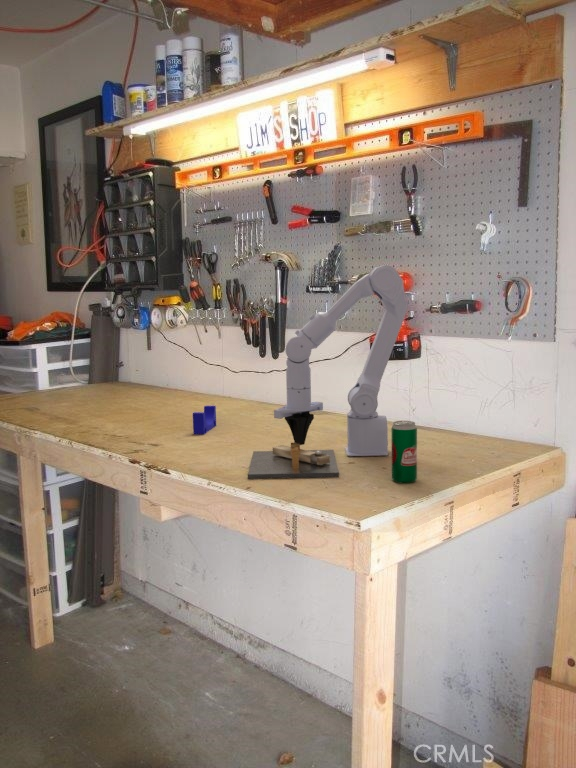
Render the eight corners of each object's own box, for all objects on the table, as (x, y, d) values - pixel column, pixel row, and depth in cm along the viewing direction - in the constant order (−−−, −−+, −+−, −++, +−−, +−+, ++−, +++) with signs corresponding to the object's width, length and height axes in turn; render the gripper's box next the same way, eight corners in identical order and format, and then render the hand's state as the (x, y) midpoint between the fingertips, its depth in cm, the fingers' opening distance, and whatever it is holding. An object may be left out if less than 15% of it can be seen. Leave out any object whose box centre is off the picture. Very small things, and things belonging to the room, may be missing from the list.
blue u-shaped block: (201, 425, 200) (200, 405, 199) (216, 426, 199) (215, 405, 198) (188, 434, 188) (187, 413, 187) (204, 435, 187) (203, 413, 186)
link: (330, 462, 149) (330, 455, 149) (319, 465, 147) (319, 458, 147) (283, 451, 160) (282, 444, 160) (271, 454, 158) (271, 447, 157)
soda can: (404, 485, 135) (404, 426, 133) (386, 480, 139) (386, 422, 138) (422, 481, 138) (422, 422, 136) (404, 475, 142) (404, 419, 140)
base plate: (333, 453, 162) (333, 431, 161) (339, 477, 142) (338, 451, 142) (253, 455, 162) (252, 432, 162) (247, 479, 143) (247, 453, 142)
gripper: (307, 382, 168) (308, 436, 170) (264, 389, 158) (265, 446, 160) (329, 385, 163) (329, 440, 165) (285, 392, 153) (286, 451, 155)
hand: (299, 444), depth 162 cm, fingers closed
